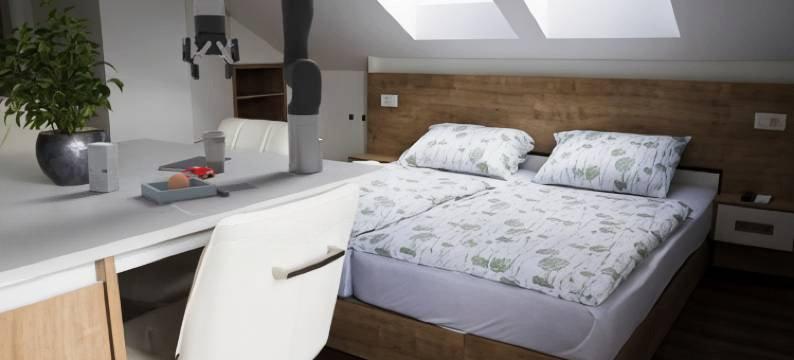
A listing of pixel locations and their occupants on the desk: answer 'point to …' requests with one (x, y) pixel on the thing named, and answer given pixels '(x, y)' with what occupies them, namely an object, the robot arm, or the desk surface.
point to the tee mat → (237, 187)
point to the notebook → (188, 164)
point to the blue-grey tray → (177, 191)
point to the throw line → (222, 192)
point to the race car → (199, 172)
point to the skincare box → (103, 167)
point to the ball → (178, 182)
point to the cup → (215, 150)
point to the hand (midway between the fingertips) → (212, 79)
